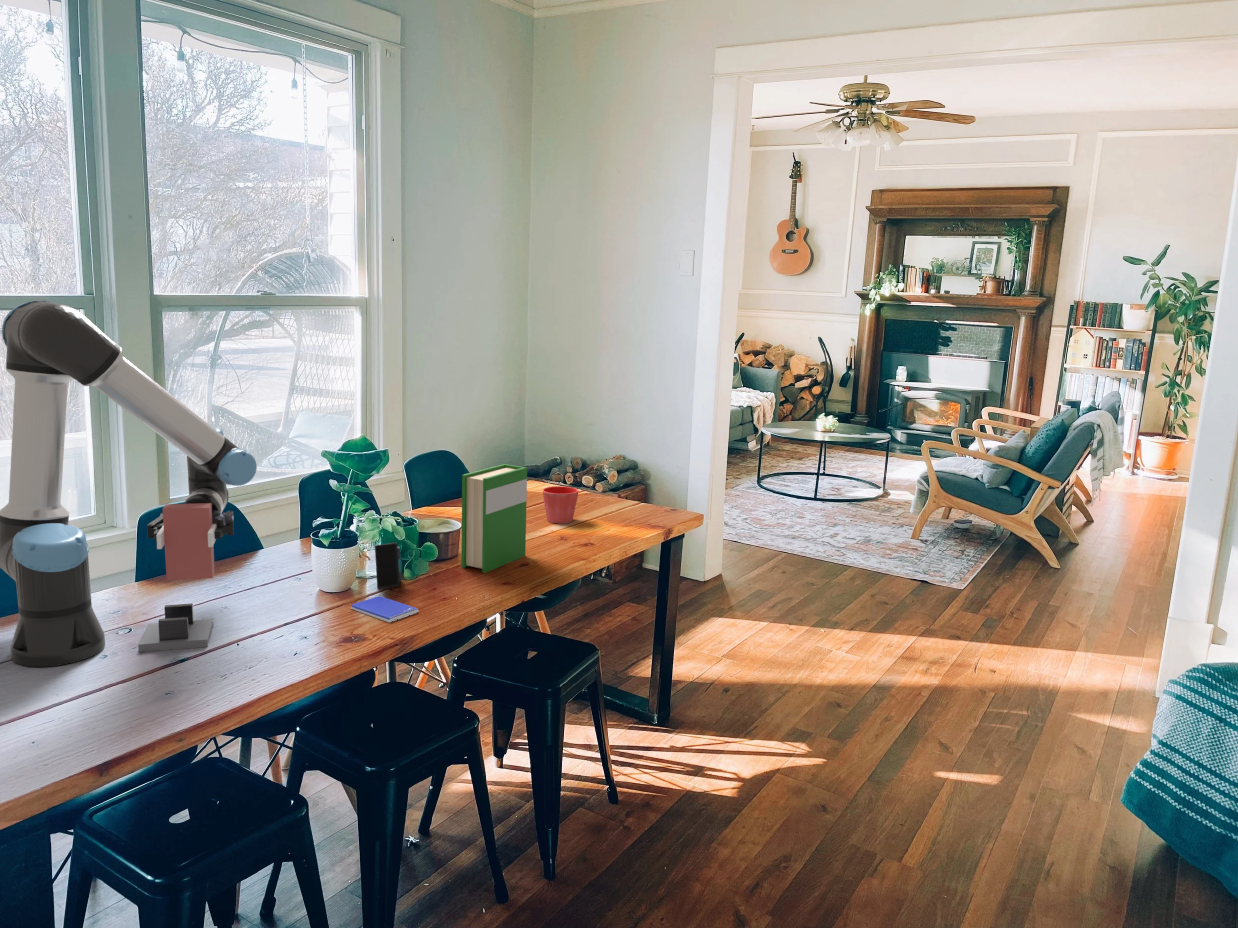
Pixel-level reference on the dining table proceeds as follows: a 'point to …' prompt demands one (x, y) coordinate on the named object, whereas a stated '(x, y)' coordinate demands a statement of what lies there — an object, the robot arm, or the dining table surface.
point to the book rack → (176, 630)
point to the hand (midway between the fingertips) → (184, 541)
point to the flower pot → (560, 503)
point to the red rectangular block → (188, 541)
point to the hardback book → (493, 516)
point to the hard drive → (384, 609)
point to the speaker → (388, 565)
